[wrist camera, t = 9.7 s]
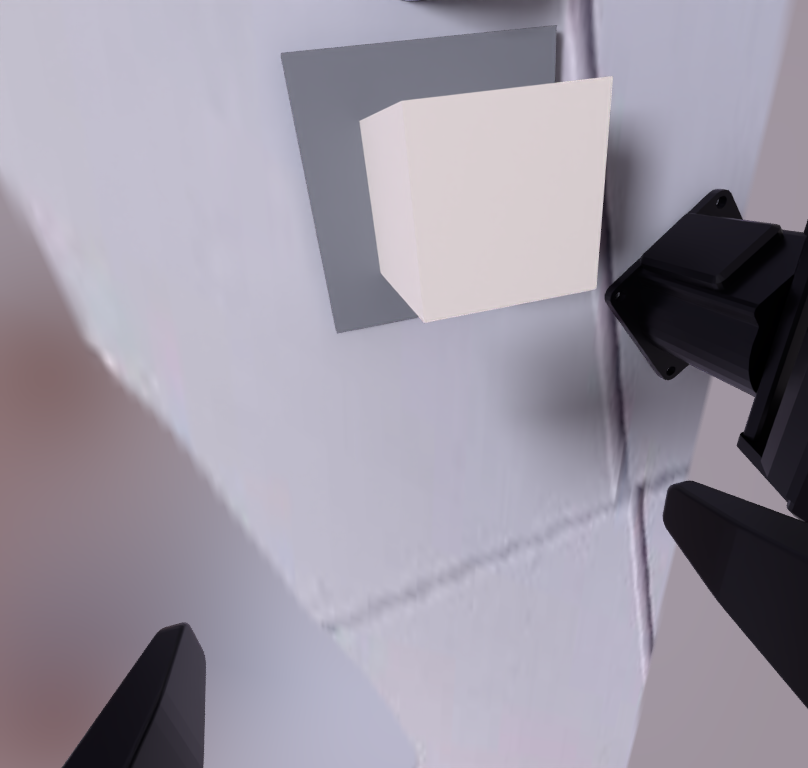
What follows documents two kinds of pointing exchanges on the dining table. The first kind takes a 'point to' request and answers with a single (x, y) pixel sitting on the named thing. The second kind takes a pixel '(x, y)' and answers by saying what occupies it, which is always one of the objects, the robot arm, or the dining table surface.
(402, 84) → the slate mat
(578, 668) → the dining table surface
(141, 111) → the dining table surface
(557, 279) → the cream block
